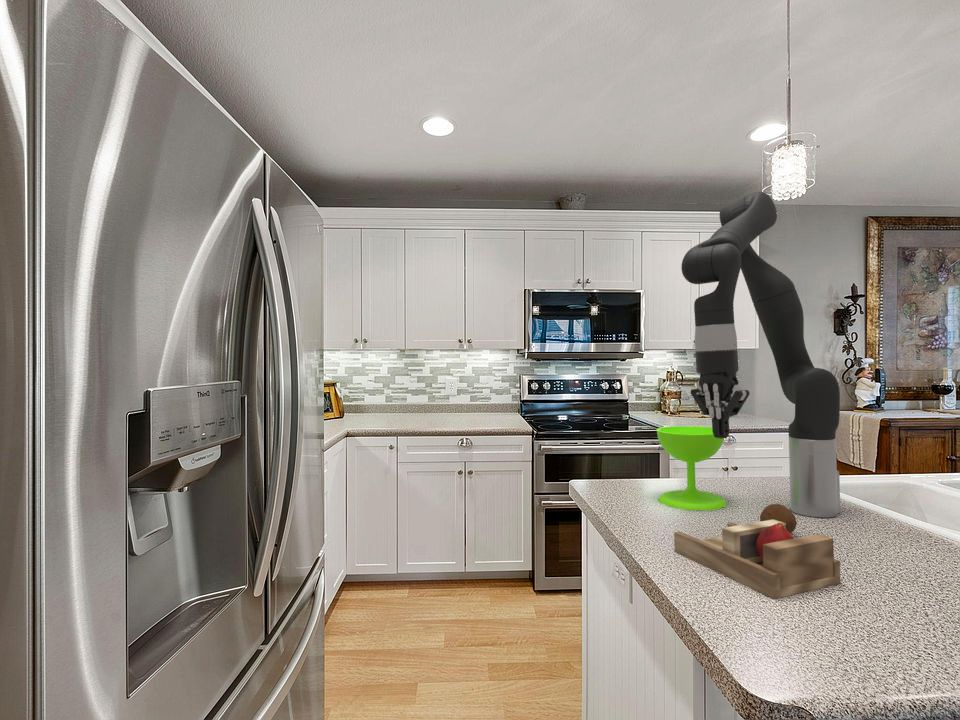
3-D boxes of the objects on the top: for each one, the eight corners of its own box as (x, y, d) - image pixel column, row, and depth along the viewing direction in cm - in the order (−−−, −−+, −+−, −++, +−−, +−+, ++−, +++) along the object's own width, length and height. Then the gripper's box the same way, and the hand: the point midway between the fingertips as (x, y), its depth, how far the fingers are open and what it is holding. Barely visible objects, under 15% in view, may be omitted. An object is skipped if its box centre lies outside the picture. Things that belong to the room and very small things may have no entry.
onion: (760, 573, 87) (765, 527, 85) (749, 555, 92) (755, 512, 91) (799, 578, 86) (805, 532, 84) (786, 560, 91) (792, 516, 90)
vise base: (732, 540, 106) (731, 504, 106) (840, 583, 85) (839, 538, 85) (674, 551, 101) (673, 513, 101) (774, 598, 81) (772, 551, 81)
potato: (793, 529, 112) (792, 499, 112) (800, 544, 103) (800, 512, 103) (758, 526, 115) (757, 497, 115) (762, 541, 106) (761, 509, 106)
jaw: (774, 551, 95) (773, 519, 95) (786, 556, 93) (785, 523, 93) (723, 561, 91) (722, 527, 91) (734, 567, 89) (733, 532, 89)
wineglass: (697, 514, 124) (695, 436, 124) (644, 499, 138) (643, 429, 138) (740, 503, 132) (738, 430, 132) (686, 490, 146) (684, 424, 146)
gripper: (759, 346, 99) (764, 439, 99) (705, 349, 112) (709, 432, 112) (728, 348, 97) (734, 444, 97) (676, 350, 109) (681, 436, 109)
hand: (721, 437), depth 104 cm, fingers closed
